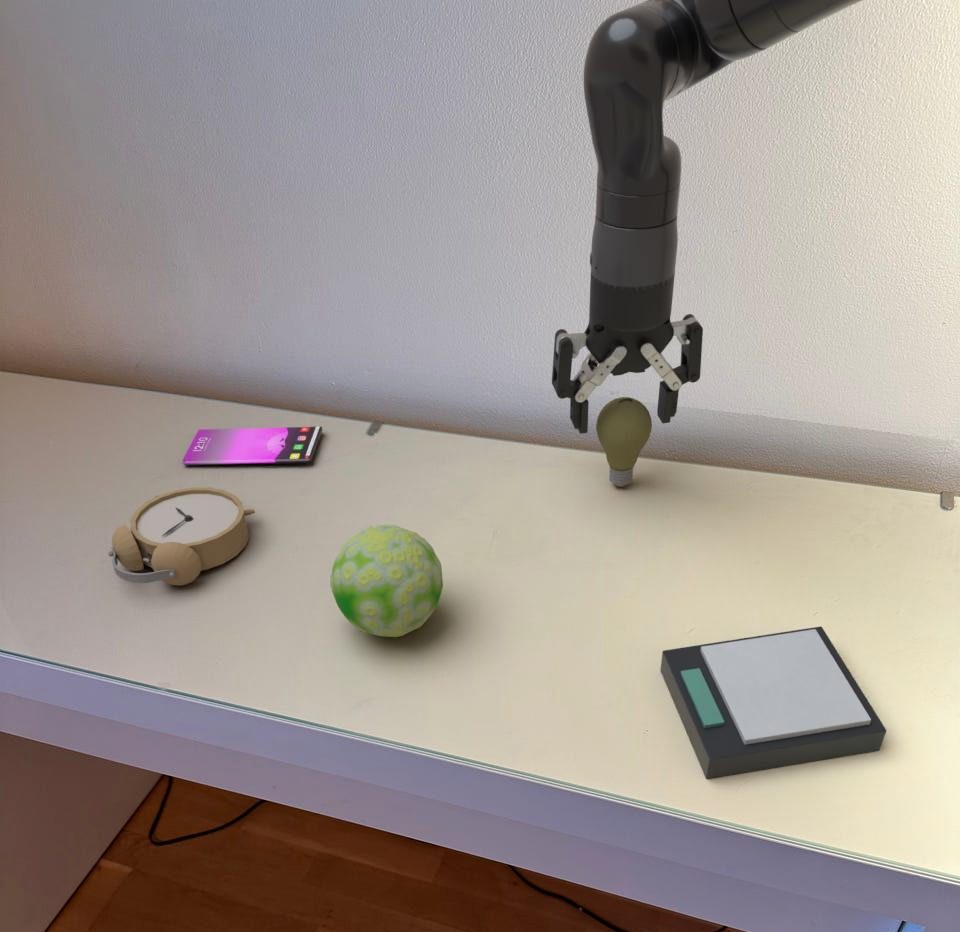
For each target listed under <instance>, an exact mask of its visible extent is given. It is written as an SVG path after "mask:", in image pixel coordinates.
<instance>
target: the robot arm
mask: <svg viewBox="0 0 960 932" xmlns="http://www.w3.org/2000/svg"><path fill="white" fill-rule="evenodd" d="M862 1H863V0H646V1H645V0H644V1H643V2H641V3H638V4H636V5H635V4H634V5H633V6H631V7H628V8H625V9H623V10H619V11H618V12H616V13H614V14H611V15H610V16H608V17H607V18H606V19H605V20H603V21H602V22H601V23H600V24H599V26H598V27H597V28H596V30H595V31H594V33H593V34H592V36H591V39H590V40H589V41H590V42H589V44H588V47H587V50H586V55H585V60H584V67H583V95H584V102H585V107H586V113H587V119H588V124H589V130H590V136H591V141H592V147H593V150H594V153H595V158H596V162H597V172H596V173H597V174H596V197H595V217H594V226H593V231H592V236H591V251H590V254H589V265H590V283H589V284H590V285H589V309H588V311H589V312H588V325H587V326H586V329H585V330H584V332H577V333H576V332H575V333H568V331H567V330H566V329H563V328H560V329H558V330H557V331H555V334H554V345H553V359H552V371H551V372H552V373H551V384H552V387H553V389H554V392H555V394H556V396H557V398H559V399H562V400H564V399H567V398H568V399H570V403H569V419H570V421H571V423H572V426H573V428H574V429H575V430H577V431H578V433H579V434H580V435H583V434H588V432H589V431H588V430H589V428H588V427H589V426H588V425H589V405H590V404H589V399H588V398H589V396H590V395H591V394H592V393H593V392H594V390H595V389H596V387H599V386H601V385H602V384H603V383H604V381H605V380H606V379H607V378H608V377H609V375H610V374H611V375H612V376H613V377H617V376H622V375H625V374H628V373H633V374H639V373H641V374H642V373H645V372H646V370H647V369H649V368H650V367H652V368H653V370H654V371H655V372H656V373H657V374H658V376H659V377H660V378H661V379H662V380H661V381H659V387H658V399H657V409H656V411H657V412H656V413H657V417H658V419H659V420H660V422H661V424H670V423H671V418H674V417H675V416H676V413H677V411H678V402H679V401H678V400H679V392H680V388H681V387H682V386H683V385H685V384H688V383H697V382H698V381H699V380H700V378H701V371H702V370H701V368H702V351H703V333H704V328H703V327H702V325H701V323H700V322H699V321H698V319H697V318H696V316H695V315H694V314H691V313H689V314H686V315H684V316H683V318H682V320H677V321H676V320H675V321H671V316H672V309H673V297H674V289H675V288H674V286H675V278H676V277H675V276H676V265H677V256H678V255H677V254H678V245H679V243H678V241H679V237H678V236H679V234H678V214H679V213H678V212H679V202H680V190H681V180H682V153H681V150H680V147H679V145H678V144H677V143H676V142H675V140H673V139H672V138H670V137H668V136H666V135H665V132H664V120H663V119H664V116H663V114H664V112H663V110H664V103H665V102H666V101H668V100H671V99H673V98H674V97H676V96H678V95H680V94H681V93H684V92H686V91H688V90H689V89H690V88H692V87H694V86H696V85H697V84H700V83H701V82H703V81H705V80H706V79H708V78H709V77H712V76H713V75H714V74H716V73H718V72H719V71H721V70H723V69H724V68H727V67H728V66H729V65H732V63H734V62H736V61H740V60H743V59H747V58H749V57H752V56H755V55H757V54H758V53H761V52H764V51H765V50H767V49H769V48H771V47H773V46H775V45H777V44H779V43H781V42H783V41H785V40H786V39H788V38H791V37H792V36H794V35H796V34H798V33H800V32H802V31H804V30H806V29H808V28H810V27H812V26H813V25H815V24H817V23H819V22H821V21H823V20H825V19H827V18H829V17H831V16H833V15H835V14H837V13H839V12H841V11H843V10H845V9H848V8H849V7H852V6H854V5H856V4H858V3H860V2H862ZM675 336H676V339H677V340H678V342H679V344H680V346H681V347H680V365H677V366H676V367H674V368H673V367H672V366H671V364H670V362H668V361H667V359H666V357H664V355H663V354H662V353H663V351H664V350H665V349H666V347H668V345H669V344H670V342H671V341H672V340H673V339H674V337H675ZM583 348H586V349H587V351H588V352H589V353H588V355H587V356H586V357H585V358H584V360H583V361H582V363H581V365H580V369H579V370H578V372H577V373H576V375H575V376H574V377H573V378H572V379H571V377H572V365H573V359H576V358H577V357H578V356H579V354H580V350H581V349H583Z"/></svg>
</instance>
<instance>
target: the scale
mask: <svg viewBox="0 0 960 932" xmlns="http://www.w3.org/2000/svg"><path fill="white" fill-rule="evenodd" d="M660 673H661V675H662V678H663V679H664V682H665V685H666V687H667V690H668V692H669V694H670V697H671V699H672V701H673V704H674V706H675V708H676V711H677V713H678V715H679V717H680V720H681V723H682V725H683V727H684V730H685V733H686V735H687V736H688V739H689V741H690V743H691V746H692V749H693V751H694V753H695V755H696V758H697V760H698V762H699V765H700V767H701V770H702V772H703V774H704V777H705V779H706V780H709V779H714V778H721V777H727V776H732V775H739V774H744V773H745V774H746V773H751V772H757V771H763V770H769V769H775V768H782V767H788V766H792V765H800V764H806V763H811V762H817V761H818V762H819V761H823V760H829V759H830V760H831V759H836V758H842V757H849V756H854V755H860V754H866V753H872V752H873V753H874V752H877V751H880V750H881V748H882V745H883V742H884V739H885V737H886V733H887V729H886V727H885V725H884V724H883V722H882V721H881V719H880V718H879V716H878V714H877V713H876V711H875V710H874V707H872V704H871V703H870V701H869V700H868V698H867V697H866V695H865V694H864V692H863V690H862V689H861V687H860V686H859V684H858V682H857V681H856V679H855V677H854V676H853V674H852V673H851V671H850V669H849V668H848V666H847V664H846V662H844V660H843V658H842V657H841V655H840V654H839V651H838V650H837V649H836V647H835V646H834V644H833V642H832V641H831V639H830V637H829V635H827V633H826V631H825V629H824V628H823V626H814V627H808V628H802V629H795V630H789V631H788V630H787V631H782V632H775V633H769V634H762V635H756V636H748V637H743V638H737V639H729V640H723V641H717V642H709V643H703V644H698V645H691V646H685V647H677V648H672V649H664V650H662V653H661V663H660Z"/></svg>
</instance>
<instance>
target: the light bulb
mask: <svg viewBox="0 0 960 932" xmlns="http://www.w3.org/2000/svg"><path fill="white" fill-rule="evenodd" d="M595 425H596V426H595V431H596V435H597V438H598V441H599V442H600V445H601V447H602V448H603V450H604V453H605V455H606V456H605V457H606V462H607V463H608V466H609V475H608V477H609V482H610V483H611V484H613V485H615V486H616V487H618V488H624V487H625V486H627V485H629V484H631V483H632V482H633V477H634V467H635V465H636V463H637V461H638V458H639V456H640V453H641V451H642V450H643V449H644V447H645V446H646V444H647V443H648V441H649V439H650V436H651V434H652V429H653V423H652V417H651V414H650V411H649V410H648V408H647V407H646V405H644V404H643V402H641V401H639V400H638V399H635V398H634V397H628V396H621V397H616V398H614V399H611V400H609V402H607V403H606V404H605V405H603V407H602V408H601V410H600V411H599V414H598V416H597V418H596V424H595Z"/></svg>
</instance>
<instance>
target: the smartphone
mask: <svg viewBox="0 0 960 932" xmlns="http://www.w3.org/2000/svg"><path fill="white" fill-rule="evenodd" d="M322 432H323V426H287V427H250V428H249V427H246V428H243V427H242V428H208V429H207V428H206V429H205V428H203V429H201V428H200V429H198V430H197V432H196V433H195V435H194V437H193V439H192V441H191V443H190V445H189V446H188V448H187V451H185V455H184V456H183V458H182V460H181V461H182V464H183V466H220V465H221V466H224V465H225V466H226V465H233V466H234V465H277V464H278V465H280V464H281V465H282V464H310V463H311V462H312V460H313V457H314V455H315V452H316V449H317V447H318V443H319V441H320V438H321V434H322Z"/></svg>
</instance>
